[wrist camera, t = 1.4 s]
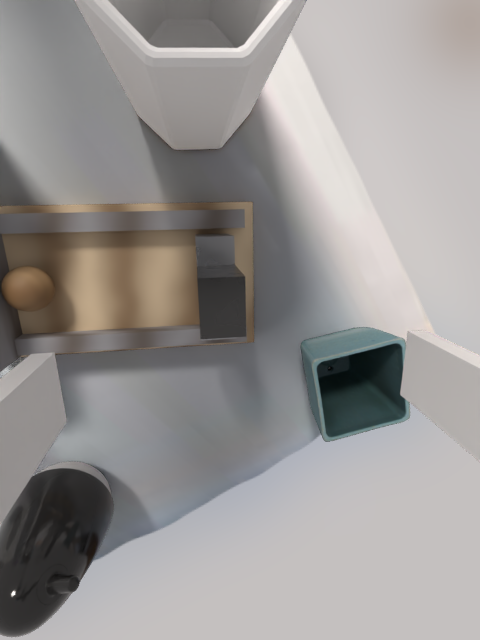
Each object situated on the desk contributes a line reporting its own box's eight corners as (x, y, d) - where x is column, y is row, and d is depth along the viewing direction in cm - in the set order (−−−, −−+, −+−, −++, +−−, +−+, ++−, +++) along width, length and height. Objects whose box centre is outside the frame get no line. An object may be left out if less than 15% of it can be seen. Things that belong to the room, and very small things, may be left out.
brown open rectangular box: (0, 351, 35) (-63, 393, 27) (-34, 207, 31) (-120, 202, 23) (251, 336, 38) (267, 369, 30) (249, 202, 34) (267, 196, 26)
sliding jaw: (200, 320, 34) (202, 370, 23) (195, 234, 32) (195, 241, 21) (230, 318, 35) (246, 367, 23) (227, 233, 32) (244, 240, 21)
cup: (273, 122, 32) (365, 4, 15) (167, 174, 33) (133, 120, 15) (221, -14, 29) (259, -377, 11) (103, 45, 29) (-39, -222, 12)
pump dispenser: (138, 493, 42) (108, 637, 28) (63, 531, 42) (-6, 693, 28) (91, 430, 39) (29, 555, 24) (10, 471, 39) (-99, 619, 25)
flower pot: (367, 379, 42) (411, 421, 33) (297, 397, 41) (324, 444, 32) (360, 311, 39) (406, 337, 30) (285, 329, 38) (310, 360, 30)
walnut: (11, 263, 31) (-15, 270, 27) (57, 262, 32) (38, 268, 28) (20, 306, 32) (-4, 318, 28) (65, 304, 33) (47, 315, 29)
